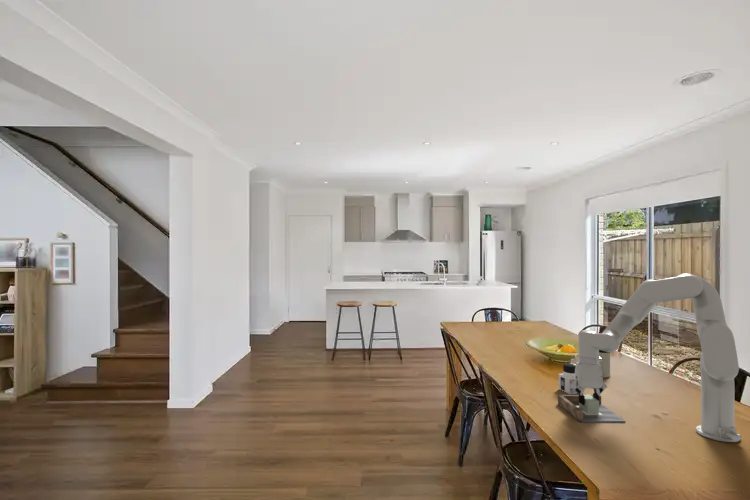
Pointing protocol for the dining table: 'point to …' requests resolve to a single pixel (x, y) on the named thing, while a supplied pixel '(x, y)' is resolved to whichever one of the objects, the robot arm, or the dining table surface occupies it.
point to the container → (567, 378)
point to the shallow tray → (580, 415)
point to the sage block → (590, 404)
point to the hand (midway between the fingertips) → (588, 403)
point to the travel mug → (605, 363)
